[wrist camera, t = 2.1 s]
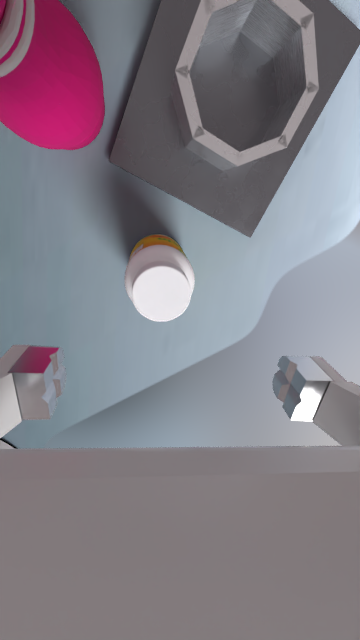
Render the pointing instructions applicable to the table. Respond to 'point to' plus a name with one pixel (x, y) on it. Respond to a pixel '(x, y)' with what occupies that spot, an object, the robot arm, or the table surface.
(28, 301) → the table surface
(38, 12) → the pepper mill
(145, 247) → the supplement bottle
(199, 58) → the collar
